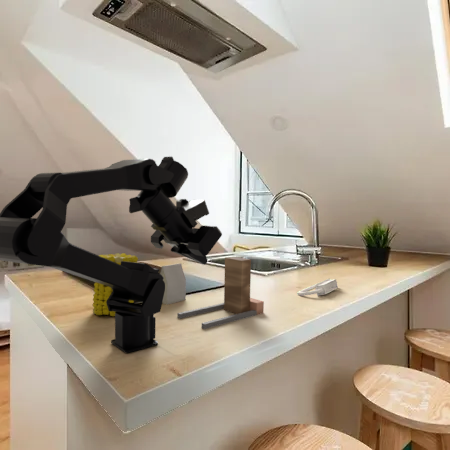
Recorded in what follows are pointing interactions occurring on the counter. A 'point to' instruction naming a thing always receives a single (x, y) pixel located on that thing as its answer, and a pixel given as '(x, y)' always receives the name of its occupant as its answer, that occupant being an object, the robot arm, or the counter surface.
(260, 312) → the twin grey rails
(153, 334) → the robot arm
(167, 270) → the tea bag
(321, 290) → the oval loop handle
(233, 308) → the brown wooden tall block
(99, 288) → the food
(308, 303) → the counter surface
